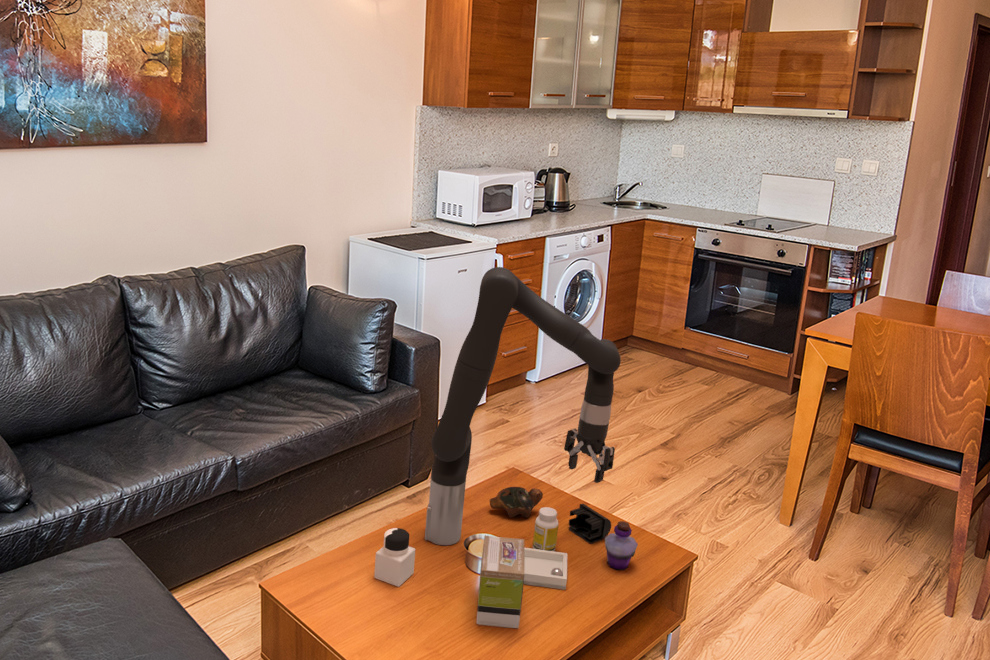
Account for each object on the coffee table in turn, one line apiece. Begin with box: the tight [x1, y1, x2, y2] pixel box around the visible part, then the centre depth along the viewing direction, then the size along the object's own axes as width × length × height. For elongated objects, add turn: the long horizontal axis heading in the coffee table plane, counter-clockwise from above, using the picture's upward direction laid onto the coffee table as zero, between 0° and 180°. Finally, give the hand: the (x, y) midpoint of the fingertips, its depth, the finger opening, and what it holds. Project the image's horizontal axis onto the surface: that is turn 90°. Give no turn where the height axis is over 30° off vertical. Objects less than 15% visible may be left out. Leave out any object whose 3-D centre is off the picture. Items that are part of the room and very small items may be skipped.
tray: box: [523, 547, 568, 591], centre depth 212 cm, size 14×12×3 cm
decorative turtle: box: [489, 486, 544, 519], centre depth 239 cm, size 10×15×8 cm, turn 102°
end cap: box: [568, 503, 612, 545], centre depth 233 cm, size 10×7×7 cm
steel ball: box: [551, 568, 563, 576], centre depth 208 cm, size 3×3×3 cm
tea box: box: [475, 535, 525, 629], centre depth 194 cm, size 15×10×15 cm
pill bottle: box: [532, 506, 559, 552], centre depth 222 cm, size 6×6×11 cm
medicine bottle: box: [374, 527, 416, 587], centre depth 203 cm, size 7×7×12 cm
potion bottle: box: [604, 520, 639, 571], centre depth 218 cm, size 9×9×12 cm
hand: (584, 475), depth 217 cm, fingers open, 8 cm apart
